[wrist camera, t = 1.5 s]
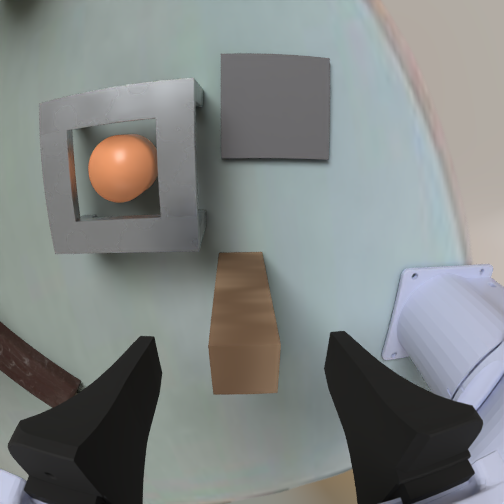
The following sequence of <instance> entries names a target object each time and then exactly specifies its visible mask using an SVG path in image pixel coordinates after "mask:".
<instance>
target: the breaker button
mask: <svg viewBox="0 0 504 504" xmlns="http://www.w3.org/2000/svg"><path fill="white" fill-rule="evenodd" d="M88 170H89V178H90V181H91V184H92V186H93V187H94V189H95V190H96V192H97V193H98V194H99V195H100V196H102V197H103V198H105V199H106V200H109V201H112V202H117V203H121V202H127V201H130V200H132V199H134V198H136V197H137V196H139V195H140V194H141V193H143V192H144V191H145V190H147V189H148V188H149V187H150V186H151V185H152V184H153V183H154V182H155V180H156V178H157V176H158V165H157V149H156V147H155V146H154V145H153V143H152V142H151V141H150V140H148V139H147V138H145V137H143V136H141V135H137V134H125V135H115V136H111V137H108V138H106V139H104V140H103V141H102V142H100V143H99V144H98V145H97V147H96V148H95V149H94V151H93V153H92V155H91V157H90V161H89V167H88Z"/></svg>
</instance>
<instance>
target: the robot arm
mask: <svg viewBox="0 0 504 504" xmlns="http://www.w3.org/2000/svg"><path fill="white" fill-rule="evenodd" d="M480 270H481V271H480ZM492 272H493V266H492V265H490V264H478V265H461V266H442V267H423V268H407V269H405V270H404V271H403V272H402V274H401V278H400V283H399V287H398V292H397V296H396V301H395V305H394V309H393V314H392V318H391V322H390V326H389V330H388V333H387V337H386V341H385V344H384V348H383V351H382V357H383V359H384V360H391V359H398V358H404V357H410V358H411V360H412V361H413V363H414V364H415V366H416V367H417V369H418V370H419V372H420V374H421V375H422V377H423V378H424V380H425V381H426V383H427V385H428V386H429V388H430V389H431V391H432V393H431V392H429V391H427V390H425V389H423V388H421V387H419V386H417V385H415V384H413V383H411V382H409V381H408V380H406V379H404V378H403V377H401V376H399V375H398V374H396V373H395V372H393V371H392V370H391V369H389V368H388V367H386V366H385V365H384V364H382V363H381V362H380V361H379V360H377V359H376V358H375V357H374V356H372V355H371V354H370V353H369V352H368V351H367V350H365V349H364V348H363V347H362V346H361V345H360V344H359V343H357V342H356V341H355V340H354V339H353V338H352V337H351V336H350V335H349V334H347V333H346V332H345V331H338V332H330V338H329V344H328V350H327V356H326V361H325V367H324V370H325V375H326V379H327V384H328V388H329V391H330V394H331V397H332V399H333V402H334V405H335V407H336V410H337V413H338V415H339V418H340V421H341V424H342V426H343V429H344V432H345V436H346V439H347V444H348V448H349V453H350V457H351V463H352V468H353V473H354V480H355V486H356V494H357V503H358V504H504V287H503V286H502V285H500V284H499V283H498V282H497V281H495V280H494V279H493V278H491V275H492ZM414 273H415V276H414V277H412V275H413V274H414ZM393 353H394V354H393ZM161 378H162V370H161V366H160V361H159V357H158V352H157V347H156V343H155V338H154V337H152V336H140V337H139V338H138V339H137V340H136V341H135V342H134V343H133V344H132V345H131V346H130V347H129V348H128V349H127V351H126V352H125V353H124V354H123V355H122V356H121V357H120V358H119V359H118V360H117V361H116V362H115V363H114V364H113V365H112V366H111V367H110V368H109V369H108V370H107V371H106V372H104V373H103V374H102V375H101V376H100V377H99V378H98V379H97V380H95V381H94V382H93V383H92V384H90V385H89V386H88V387H86V388H85V389H84V390H82V391H81V392H79V393H78V394H76V395H75V396H73V397H71V398H70V399H68V400H67V401H65V402H63V403H61V404H60V405H58V406H56V407H54V408H52V409H49V410H47V411H45V412H43V413H40V414H38V415H35V416H32V417H30V418H27V419H24V420H21V421H20V422H19V424H18V425H17V427H16V429H15V431H14V433H13V435H12V437H11V439H10V441H9V443H8V449H9V452H10V454H11V455H12V456H13V458H14V459H15V460H16V461H17V463H18V464H19V465H20V466H21V467H22V468H23V469H24V470H25V471H26V472H27V474H28V475H29V477H28V480H27V481H26V480H24V479H23V478H21V477H19V476H17V475H15V474H12V473H10V472H7V471H5V470H3V469H0V504H143V477H144V465H145V455H146V447H147V441H148V436H149V432H150V428H151V424H152V420H153V416H154V413H155V409H156V405H157V401H158V397H159V393H160V386H161Z"/></svg>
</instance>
